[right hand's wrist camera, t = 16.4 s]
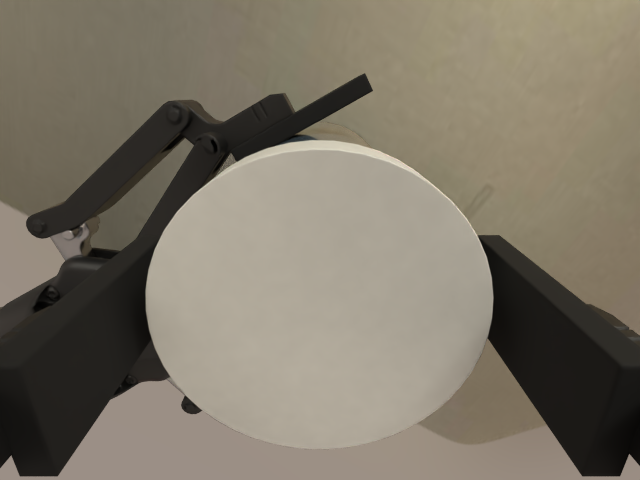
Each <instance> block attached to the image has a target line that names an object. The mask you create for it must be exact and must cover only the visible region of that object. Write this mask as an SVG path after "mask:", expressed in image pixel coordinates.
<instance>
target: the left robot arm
mask: <svg viewBox="0 0 640 480" xmlns="http://www.w3.org/2000/svg"><path fill="white" fill-rule="evenodd" d="M372 91H373V90H372V88H371V85H370V83H369V81H368V79H367V77H366V74H365V73H364V74H362V75H360V76H358V77H356V78H354V79H353V80H351V81H349V82H347V83H346V84H344V85H342V86H341V87H339V88H337V89H335V90H334V91H332V92H330V93H328V94H327V95H325V96H323V97H321V98H320V99H318V100H316V101H314V102H313V103H311V104H309V105H308V106H306V107H304V108H302V109H301V110H299V111H297V112H295V111H294V109H293V107H292V105H291V103H290V101H289V99H288V97H287V96H286V94H285V93H281V94H273V95H269V96H267V97H266V98H264V99H262V100H261V101H259V102H257V103H256V104H254V105H252V106H251V107H249V108H247V109H245V110H244V111H242V112H240V113H239V114H237V115H235V116H234V117H232V118H230V119H229V120H227V121H225V122H222V121H218V120H216V119H214V118H213V117H211V116H210V115H209V114H208V113H207V112H206V111H204V109H203V107H202V106H201V104H199V103H198V102H197V101H194V100H178V101H168V102H167V103H165V104H163V105H162V106H161V107H160V108H159V109H158V110H157V111H156V112H155V113H154V114H153V115H152V116H151V117H150V118H149V119H148V120H147V121H146V122H145V123H144V124H143V125H142V126H141V127H140V128H139V129H138V130H137V131H136V132H135V133H134V134H133V135H132V136H131V137H130V138H129V139H128V140H127V141H126V142H125V143H124V144H123V145H122V146H121V147H120V148H119V149H118V150H117V151H116V152H115V153H114V154H113V155H112V156H111V157H110V158H109V159H108V160H107V161H106V162H105V163H104V164H103V165H102V166H101V167H100V168H99V169H98V170H97V171H96V172H95V173H93V174H92V175H91V176H90V177H89V178H88V179H87V180H86V181H85V182H84V183H83V184H82V185H81V186H80V187H79V188H78V189H77V190H76V191H75V192H74V193H73V194H72V195H71V196H70V197H69V198H68V199H67V200H66V201H64V202H62V203H60V204H57V205H55V206H52V207H50V208H48V209H45V210H43V211H41V212H38V213H36V214H34V215H31V216H30V217H28V219H27V221H26V226H27V229H28V231H29V232H30V233H31V234H32V235H34V236H35V237H37V238H48V237H50V238H51V239H52V241H53V242H54V244H55V245H56V247H57V248H58V250H59V252H60V253H61V255H62V256H63V258H64V259H65V262H64V263H63V264H62V266H61V268H60V270H59V273H58V274H57V276H55V277H54V278H52V279H50V280H48V281H46V282H45V283H43V284H41V285H39V286H37V287H36V288H34V289H32V290H30V291H29V292H27V293H25V294H23V295H21V296H20V297H18V298H16V299H14V300H13V301H11V302H9V303H7V304H6V305H5V306H4V307H0V338H1V337H2V336H3V335H5V334H6V333H7V332H11V331H12V328H14V327H15V326H16V325H18V324H19V323H20V322H22V321H23V320H24V319H26V318H27V317H28V316H30V315H32V314H34V313H36V312H38V311H40V310H42V309H44V308H46V307H48V306H52V305H53V304H55V303H56V302H57V301H59V300H60V299H61V298H62V297H64V296H65V295H66V294H67V293H69V292H70V291H71V290H72V289H74V288H75V287H76V286H77V285H79V284H80V283H81V282H83V281H84V280H85V279H86V278H88V277H89V276H90V275H91V274H93V273H94V272H95V271H96V270H98V269H99V268H100V267H101V266H103V265H104V264H105V263H106V262H108V261H109V260H110V259H112V258H113V257H114V256H115V255H117V254H118V253H119V252H120V251H117V250H109V249H100V248H92V247H91V245H90V238H91V236H92V235H93V234H95V233H96V232H97V231H98V228H99V223H100V218H99V217H98V216H97V215H99V214H100V213H102V212H104V211H106V210H107V209H109V208H110V207H112V206H113V205H114V204H115V203H116V202H118V201H119V200H120V199H121V198H122V197H123V196H124V195H125V194H126V193H127V192H128V191H129V190H130V189H131V188H132V187H134V186H135V185H136V184H137V183H138V182H139V181H140V180H141V179H142V178H143V177H144V176H145V175H146V174H147V173H148V172H150V171H151V170H152V169H153V168H154V167H155V166H156V165H157V164H158V163H159V162H160V161H161V160H162V159H163V158H164V157H165V156H167V155H168V154H169V153H170V152H171V151H172V150H173V149H174V148H175V147H176V146H177V145H178V144H179V143H180V142H181V141H183V140H184V139H185V138H186V139H187V140H189V141H190V142H191V143H192V144H193V145H194V147H193V148H192V150H191V151H190V153H189V155H188V156H187V158H186V159H185V161H184V163H183V164H182V166H181V168H180V169H179V171H178V172H177V174H176V176H175V177H174V179H173V180H172V182H171V184H170V185H169V187H168V188H167V190H166V192H165V193H164V195H163V197H162V198H161V200H160V201H159V203H158V205H157V206H156V208H155V209H154V211H153V213H152V214H151V216H150V217H149V219H148V221H147V222H146V224H145V226H144V227H143V229H142V230H141V232H140V234H139V235H138V237H139V236H141V235H162V234H163V232H164V230H165V228H166V227H167V225H168V224H169V223H170V221H171V220H172V218H173V217H174V215H175V214H176V213H177V211H178V210H179V209H180V208H181V207H182V206H183V205H184V204H185V203H186V202H187V201H188V200H189V199H190V198H191V197H192V195H193V194H195V193H196V192H197V191H198V190H200V189H201V188H202V187H203V186H205V185H206V184H207V183H208V182H210V181H211V180H212V179H214V177H215V176H216V174H217V173H218V171H219V170H220V168H221V167H222V165H223V164H224V162H225V161H226V159H227V158H228V156H229V155H230V153H232V155H233V156H234V158H235V160H236V161H237V162H238V161H240V160H241V159H243V158H245V157H247V156H249V155H252V154H254V153H257V152H259V151H262V150H264V149H267V148H270V147H274V146H276V145H278V144H279V143H281V142H283V141H285V140H287V139H288V138H290V137H292V136H294V135H295V134H297V133H299V132H301V131H303V130H304V129H306V128H308V127H310V126H311V125H313V124H315V123H317V122H318V121H320V120H322V119H324V118H326V117H327V116H329V115H331V114H333V113H334V112H336V111H338V110H340V109H342V108H343V107H345V106H347V105H349V104H350V103H352V102H354V101H356V100H357V99H359V98H361V97H363V96H365V95H366V94H368V93H370V92H372ZM138 237H137V238H138ZM137 238H136V239H137ZM165 379H167V380H168V381H169V382H170V383H171V384H173V385H174V386H175V387H176V388H177V389H178V390H179V391H181V389H180V388H179V387H178V386H177V385H176V384H175V382H174V381H173V380H172V378H171V377H170V375H169V374H168V372H167V371H166V369H165V368H164V366H163V364H162V362H161V360H160V358H159V356H158V354H157V352H156V350H155V347H154V344H153V341H152V339H151V341H150V342H149V344H148V345H147V347H146V348H145V349H144V351H143V352H142V354H141V355H140V357H139V358H138V360H137V361H136V363H135V364H134V365H133V367H132V368H131V370H130V371H129V373H128V374H127V376H126V377H125V379H124V380H123V382H122V383H121V384H120V386H119V387H118V389H117V390H116V392H115V393H114V395H113V396H112V398H111V399H113V398H115V397H117V396H118V395H120V394H122V393H124V392H126V391H127V390H129V389H130V388H132V387H133V386H135V385H137V384H138V383H141V382H145V381H162V380H165ZM181 392H182V391H181ZM182 393H183V392H182ZM183 394H184V393H183ZM184 395H185V394H184ZM181 406H182V409H183V410H184V411H185V412H187V413H190V414H197V413H199V412H201V411H202V410H201V409H200V408H199V407H198V406H197V405H195V404H194V403H193V402H192V401H191V400H190V399H189V398H188V397H187V396H186V395H185V397H184V399H183V401H182V404H181Z"/></svg>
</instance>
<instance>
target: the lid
mask: <svg viewBox="0 0 640 480" xmlns="http://www.w3.org/2000/svg"><path fill="white" fill-rule="evenodd" d="M492 311H493V287H492V277H491V273H490V269H489V265H488V261H487V257H486V254H485V252H484V250H483V247H482V245H481V243H480V240H479V238H478V236H477V234H476V233H475V231H474V230H473V228H472V226H471V225H470V223H469V221H468V220H467V218H466V217H465V216H464V215H463V214H462V212H461V211H460V210H459V209H458V208H457V207H456V205H455V204H454V203H453V202H452V201H451V200H450V199H449V198H448V197H447V196H446V195H444V194H443V193H442V192H441V191H440V190H439V189H438V188H436V187H435V186H434V185H433V184H432V183H430V182H429V181H428V180H427V179H425V178H424V177H423V176H422V175H421V174H419V173H418V172H417V171H415V170H414V169H412V168H410V167H409V166H407V165H406V164H404V163H403V162H401V161H400V160H398V159H395V158H393V157H391V156H389V155H387V154H385V153H382V152H380V151H378V150H374V149H371V148H368V147H364V146H361V145H358V144H352V143H346V142H340V141H325V140H309V141H300V142H291V143H286V144H282V145H278V146H274V147H270V148H267V149H264V150H262V151H259V152H257V153H254V154H252V155H249V156H247V157H245V158H243V159H241V160H240V161H238V162H236V163H235V164H233V165H231V166H229V167H228V168H226V169H225V170H224V171H222V172H221V173H220V174H219V175H217V176H216V177H215V178H214V179H212V180H211V181H210V182H208V183H207V184H206V185H205V186H203V187H202V188H201V189H200V190H198V191H197V192H196V193H195V194H193V195H192V197H191V198H190V199H189V200H188V201H187V202H186V203H185V204H184V205H183V206H182V207H181V208H180V209H179V210H178V211H177V213H176V214H175V215H174V217H173V218H172V220H171V221H170V223H169V224H168V225H167V227H166V228H165V230H164V232H163V234H162V236H161V238H160V240H159V242H158V244H157V246H156V248H155V250H154V253H153V257H152V260H151V263H150V266H149V270H148V276H147V283H146V315H147V321H148V327H149V332H150V335H151V338H152V341H153V344H154V347H155V350H156V352H157V354H158V356H159V358H160V360H161V362H162V364H163V366H164V368H165V369H166V371H167V372H168V374H169V375H170V377H171V378H172V380H173V381H174V382H175V384H176V385H177V386H178V387H179V388H180V389H181V391H182V392H183V393H184V394H185V395H186V396H187V397H188V398H189V399H190V400H191V401H192V402H193V403H194V404H195V405H197V406H198V407H199V408H200V409H201V410H203V411H204V412H205V413H207V414H208V415H210V416H211V417H212V418H214V419H215V420H217V421H218V422H220V423H222V424H224V425H225V426H227V427H229V428H231V429H232V430H235V431H237V432H239V433H242V434H244V435H246V436H249V437H251V438H254V439H257V440H261V441H264V442H267V443H271V444H276V445H280V446H285V447H292V448H300V449H338V448H348V447H353V446H359V445H364V444H368V443H371V442H375V441H378V440H382V439H385V438H387V437H390V436H392V435H395V434H397V433H400V432H402V431H404V430H406V429H408V428H410V427H412V426H413V425H416V424H417V423H419V422H420V421H422V420H423V419H425V418H426V417H428V416H429V415H431V414H432V413H434V412H435V411H436V410H437V409H439V408H440V407H441V406H442V405H443V404H445V403H446V402H447V401H448V400H449V399H450V398H451V397H452V396H453V395H454V394H455V393H456V391H457V390H458V389H459V388H460V387H461V386H462V385H463V383H464V382H465V380H466V379H467V378H468V376H469V375H470V374H471V372H472V371H473V369H474V367H475V365H476V363H477V361H478V360H479V358H480V356H481V354H482V351H483V348H484V346H485V343H486V340H487V338H488V334H489V329H490V325H491V320H492Z"/></svg>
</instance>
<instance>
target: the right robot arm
mask: <svg viewBox="0 0 640 480" xmlns="http://www.w3.org/2000/svg"><path fill="white" fill-rule="evenodd" d="M161 236H162V235H141V236H139V237H138V238H137V239H136V240H134V241H133V242H132V243H130V244H129V245H128V246H127V247H125V248H124V249H123V250H122V251H120V252H119V253H118V254H117V255H115V256H114V257H113V258H112V259H110V260H109V261H108V262H106V263H105V264H104V265H103V266H101V267H100V268H99V269H98V270H96V271H95V272H94V273H93V274H91V275H90V276H89V277H88V278H86V279H85V280H84V281H83V282H81V283H80V284H79V285H77V286H76V287H75V288H74V289H72V290H71V291H70V292H69V293H67V294H66V295H65V296H64V297H62V298H61V299H60V300H59V301H57V302H56V303H55V304H53V305H52V306H48V307H46V308H44V309H42V310H40V311H38V312H36V313H34V314H32V315H30V316H28V317H27V318H26V319H24V320H23V321H22V322H20V323H19V324H18V325H16V326H15V327H14V328H12V331H11V332H7V333H6V334H5V335H3V336H2V337H1V338H0V468H1V467H2V465H3V464H4V463H5V462H6V461H7V460H8V458H9V457H10V456H11V455H12V458H13V460H14V463H15V465H16V468H17V470H18V473H19V475H20V476H58V475H59V473H60V472H61V470H62V469H63V468H64V466H65V465H66V463H67V462H68V460H69V459H70V457H71V456H72V454H73V453H74V452H75V450H76V449H77V447H78V446H79V444H80V443H81V441H82V440H83V438H84V437H85V436H86V434H87V433H88V431H89V430H90V428H91V427H92V425H93V424H94V422H95V421H96V419H97V418H98V416H99V415H100V414H101V412H102V411H103V409H104V408H105V406H106V405H107V403H108V402H109V400H110V399H111V398H112V396H113V395H114V393H115V392H116V390H117V389H118V387H119V386H120V384H121V383H122V382H123V380H124V379H125V377H126V376H127V374H128V373H129V371H130V370H131V368H132V367H133V365H134V364H135V363H136V361H137V360H138V358H139V357H140V355H141V354H142V352H143V351H144V349H145V348H146V347H147V345H148V344H149V342H150V341H151V339H152V338H151V335H150V332H149V327H148V321H147V315H146V283H147V276H148V270H149V266H150V263H151V260H152V257H153V253H154V250H155V248H156V246H157V244H158V242H159V240H160V238H161ZM477 236H478V238H479V240H480V243H481V245H482V247H483V250H484V252H485V254H486V257H487V261H488V265H489V269H490V273H491V277H492V287H493V311H492V320H491V325H490V329H489V334H488V339H489V341H490V342H491V344H492V345H493V347H494V348H495V349H496V351H497V352H498V354H499V355H500V357H501V358H502V360H503V361H504V363H505V364H506V366H507V367H508V368H509V370H510V371H511V373H512V374H513V376H514V377H515V379H516V380H517V382H518V383H519V384H520V386H521V387H522V389H523V390H524V392H525V393H526V395H527V396H528V398H529V399H530V401H531V402H532V403H533V405H534V406H535V408H536V409H537V411H538V412H539V414H540V415H541V417H542V418H543V420H544V421H545V422H546V424H547V425H548V427H549V428H550V430H551V431H552V433H553V434H554V436H555V437H556V438H557V440H558V441H559V443H560V444H561V446H562V447H563V449H564V450H565V451H566V453H567V455H568V456H569V457H570V459H571V460H572V462H573V463H574V465H575V466H576V468H577V469H578V471H579V472H580V474H581V475H582V476H620V475H621V473H622V470H623V468H624V465H625V463H626V460H627V458H628V455H629V454H630V455H631V456H632V457H633V458H634V460H635V461H636V462H637V463H638V464H639V465H640V336H639V335H638V334H637V333H635V332H634V331H633V330H629V327H627V326H626V325H625V324H623V323H622V322H621V321H619V320H618V319H617V318H616V317H614V316H613V315H611V314H609V313H607V312H605V311H603V310H601V309H599V308H597V307H595V306H593V305H591V304H585V303H584V302H583V301H581V300H580V299H579V298H578V297H576V296H575V295H574V294H573V293H571V292H570V291H569V290H568V289H566V288H565V287H564V286H563V285H561V284H560V283H559V282H557V281H556V280H555V279H554V278H552V277H551V276H550V275H549V274H547V273H546V272H545V271H544V270H542V269H541V268H540V267H539V266H537V265H536V264H535V263H534V262H532V261H531V260H530V259H528V258H527V257H526V256H525V255H523V254H522V253H521V252H520V251H518V250H517V249H516V248H515V247H513V246H512V245H511V244H510V243H508V242H507V241H506V240H504V239H503V238H502V237H501V236H499V235H477Z"/></svg>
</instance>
